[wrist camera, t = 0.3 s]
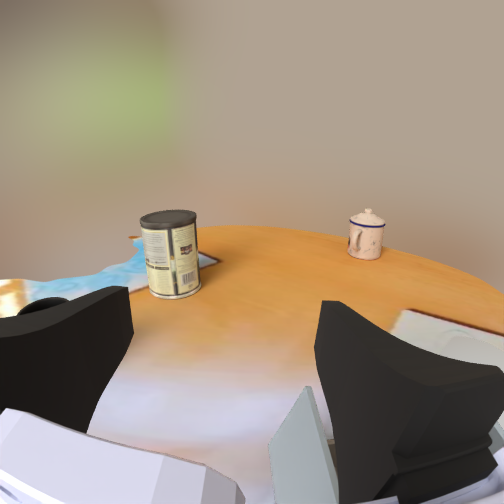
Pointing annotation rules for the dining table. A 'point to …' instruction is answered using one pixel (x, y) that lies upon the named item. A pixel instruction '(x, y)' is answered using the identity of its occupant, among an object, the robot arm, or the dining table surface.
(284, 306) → the dining table surface
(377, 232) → the teacup with lid
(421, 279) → the dining table surface
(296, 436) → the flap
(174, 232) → the coffee can
